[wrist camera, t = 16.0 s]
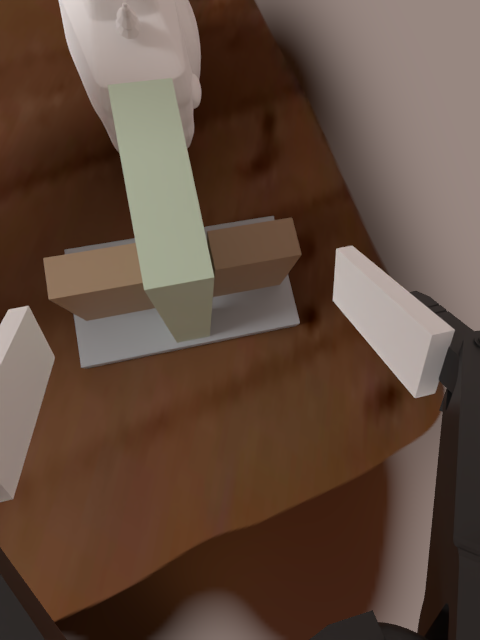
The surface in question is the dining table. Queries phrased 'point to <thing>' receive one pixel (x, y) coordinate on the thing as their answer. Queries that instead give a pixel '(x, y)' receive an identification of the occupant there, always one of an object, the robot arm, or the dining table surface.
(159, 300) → the green plank
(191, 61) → the white ridged rounded piece
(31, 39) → the dining table surface
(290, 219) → the brown grey slotted block
